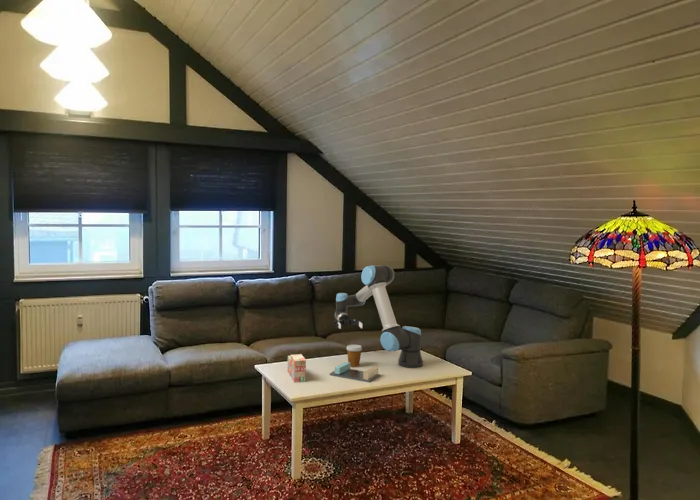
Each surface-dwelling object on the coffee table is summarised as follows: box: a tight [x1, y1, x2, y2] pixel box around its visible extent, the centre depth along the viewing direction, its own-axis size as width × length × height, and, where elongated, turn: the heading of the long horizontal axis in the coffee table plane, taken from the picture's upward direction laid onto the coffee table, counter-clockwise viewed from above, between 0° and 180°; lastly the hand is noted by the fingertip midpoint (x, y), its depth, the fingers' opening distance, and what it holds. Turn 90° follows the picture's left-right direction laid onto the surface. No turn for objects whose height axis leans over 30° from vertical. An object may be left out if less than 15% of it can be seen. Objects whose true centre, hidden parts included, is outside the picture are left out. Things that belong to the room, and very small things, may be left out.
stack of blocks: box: [287, 353, 307, 383], centre depth 313 cm, size 21×6×12 cm, turn 17°
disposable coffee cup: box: [346, 344, 363, 368], centre depth 336 cm, size 10×10×12 cm
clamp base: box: [329, 366, 381, 383], centre depth 317 cm, size 25×14×5 cm, turn 62°
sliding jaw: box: [334, 361, 351, 374], centre depth 321 cm, size 3×13×4 cm, turn 152°
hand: (351, 326), depth 345 cm, fingers open, 13 cm apart
